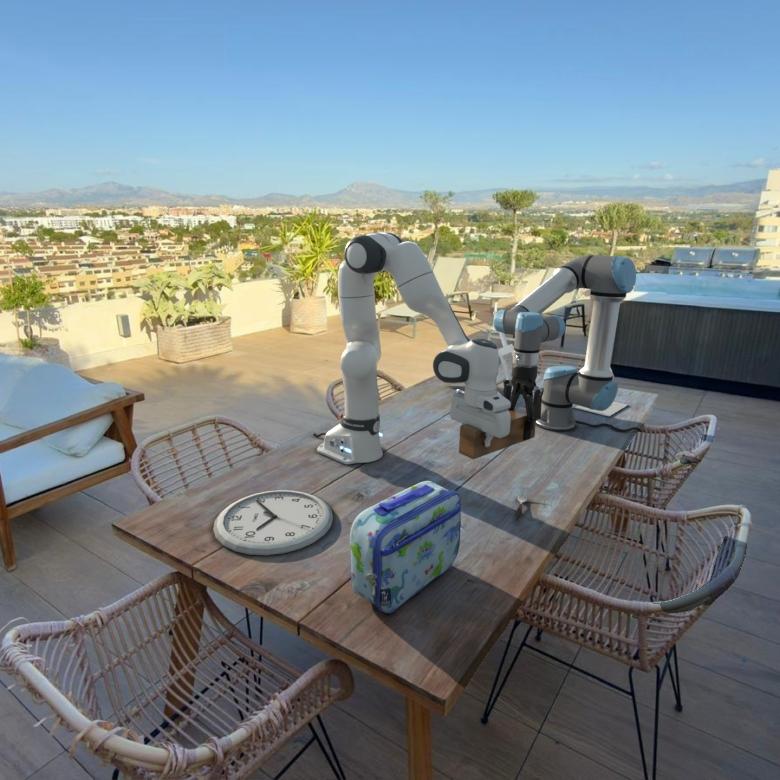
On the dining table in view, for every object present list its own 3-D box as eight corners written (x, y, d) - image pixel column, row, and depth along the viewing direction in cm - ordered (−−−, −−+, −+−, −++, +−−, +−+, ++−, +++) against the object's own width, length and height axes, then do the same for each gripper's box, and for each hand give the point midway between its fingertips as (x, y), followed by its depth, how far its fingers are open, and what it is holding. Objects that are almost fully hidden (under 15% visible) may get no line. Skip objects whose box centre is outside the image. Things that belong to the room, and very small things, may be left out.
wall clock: (331, 546, 121) (198, 551, 119) (331, 552, 122) (199, 557, 119) (333, 485, 150) (227, 488, 147) (334, 490, 150) (227, 493, 148)
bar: (519, 431, 168) (522, 406, 166) (534, 437, 164) (537, 412, 162) (458, 452, 152) (460, 425, 150) (473, 459, 148) (475, 431, 145)
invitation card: (608, 416, 214) (573, 407, 224) (608, 416, 214) (573, 408, 224) (628, 404, 229) (594, 396, 238) (628, 405, 229) (594, 397, 238)
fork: (511, 521, 136) (512, 514, 136) (519, 493, 150) (519, 487, 150) (521, 523, 135) (522, 516, 135) (528, 495, 150) (528, 489, 149)
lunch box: (379, 627, 99) (381, 531, 93) (343, 599, 107) (342, 508, 100) (464, 568, 117) (470, 484, 111) (428, 548, 124) (431, 467, 118)
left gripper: (446, 389, 153) (444, 433, 157) (500, 408, 138) (496, 456, 142) (461, 386, 157) (459, 428, 161) (515, 404, 142) (511, 450, 146)
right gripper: (492, 359, 161) (487, 429, 168) (543, 373, 147) (535, 448, 154) (508, 356, 166) (502, 424, 173) (559, 369, 152) (550, 443, 159)
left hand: (476, 442), depth 151 cm, fingers closed on bar, 6 cm apart
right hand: (518, 436), depth 164 cm, fingers closed on bar, 6 cm apart
